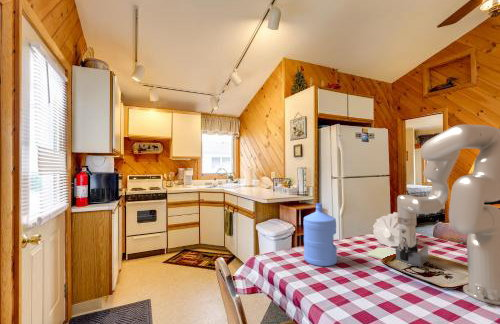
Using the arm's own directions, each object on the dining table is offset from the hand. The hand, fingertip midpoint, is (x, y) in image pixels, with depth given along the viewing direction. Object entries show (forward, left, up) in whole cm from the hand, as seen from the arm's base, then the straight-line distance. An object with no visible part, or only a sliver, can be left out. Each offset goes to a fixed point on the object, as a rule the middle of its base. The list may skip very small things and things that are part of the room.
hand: (407, 257), depth 113 cm
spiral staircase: (+30, +14, -3) cm, 33 cm away
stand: (+11, -1, -3) cm, 11 cm away
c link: (+6, -1, -3) cm, 6 cm away
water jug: (-26, +30, -3) cm, 40 cm away
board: (+5, +12, -3) cm, 13 cm away
